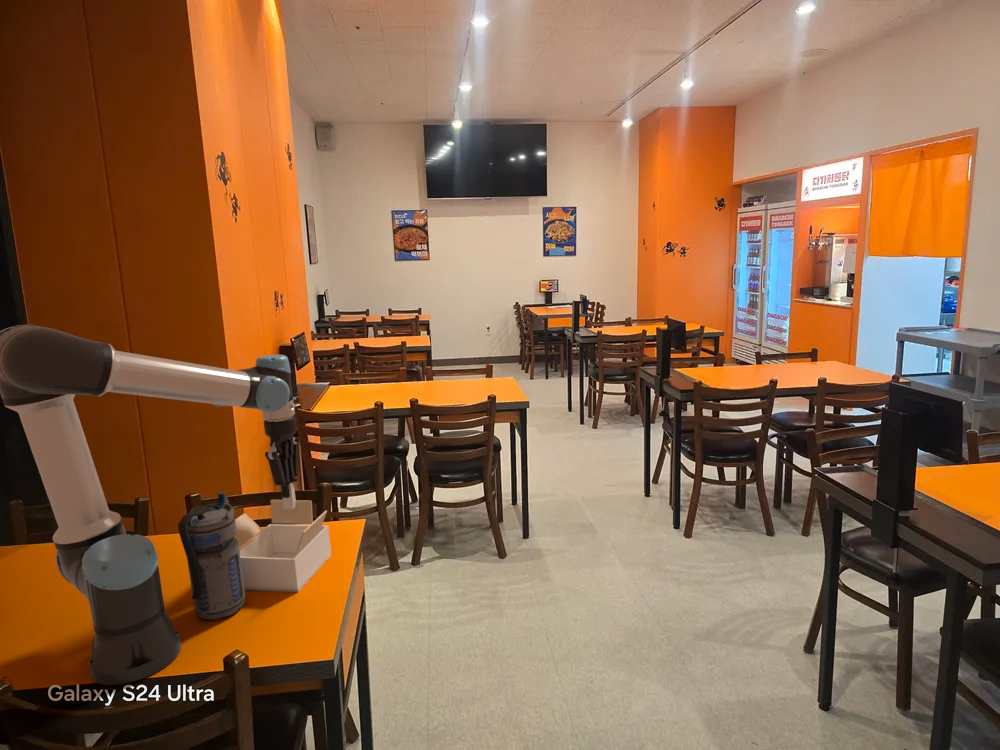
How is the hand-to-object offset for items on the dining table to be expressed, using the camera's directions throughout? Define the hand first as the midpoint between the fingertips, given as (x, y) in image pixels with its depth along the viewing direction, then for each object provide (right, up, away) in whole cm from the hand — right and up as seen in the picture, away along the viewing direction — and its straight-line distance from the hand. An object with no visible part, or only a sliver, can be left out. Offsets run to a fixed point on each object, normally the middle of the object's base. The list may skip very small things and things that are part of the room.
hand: (290, 507), depth 156 cm
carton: (-1, -14, -5) cm, 15 cm away
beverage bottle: (-8, -18, -22) cm, 30 cm away
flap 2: (+8, -3, -11) cm, 14 cm away
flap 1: (0, -1, +1) cm, 2 cm away
